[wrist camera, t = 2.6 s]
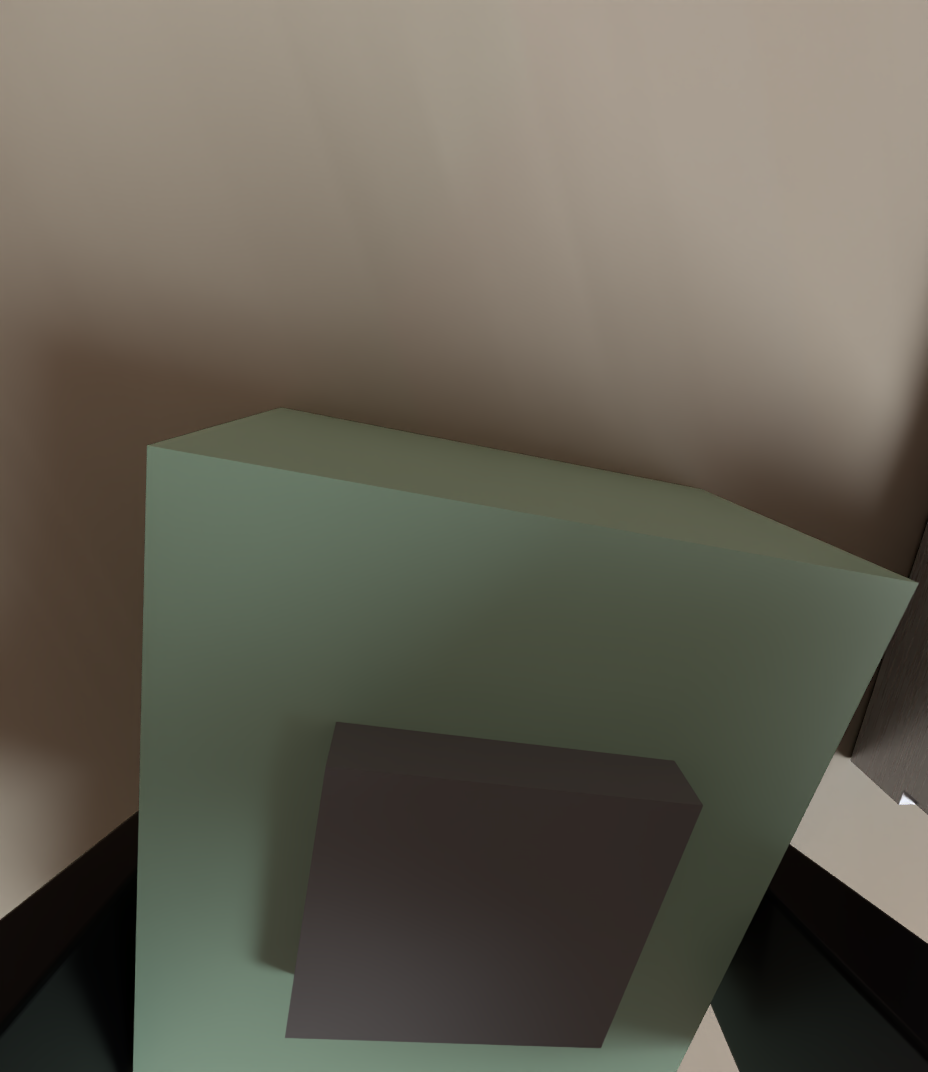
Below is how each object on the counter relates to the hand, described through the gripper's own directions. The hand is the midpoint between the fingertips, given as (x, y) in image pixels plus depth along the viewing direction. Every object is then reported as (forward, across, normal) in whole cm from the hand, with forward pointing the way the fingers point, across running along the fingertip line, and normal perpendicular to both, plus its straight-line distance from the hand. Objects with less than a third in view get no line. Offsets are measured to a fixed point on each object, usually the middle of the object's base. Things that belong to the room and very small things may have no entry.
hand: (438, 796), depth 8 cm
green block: (+1, 0, 0) cm, 1 cm away
